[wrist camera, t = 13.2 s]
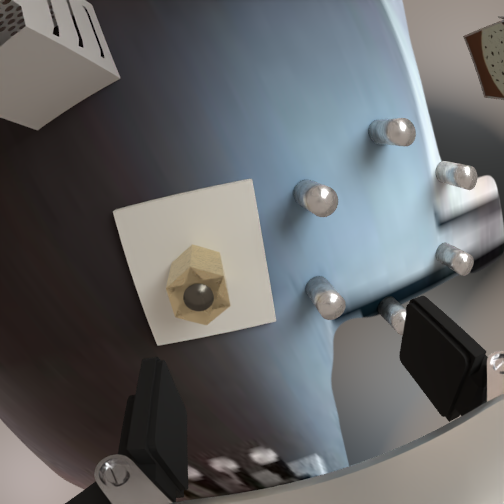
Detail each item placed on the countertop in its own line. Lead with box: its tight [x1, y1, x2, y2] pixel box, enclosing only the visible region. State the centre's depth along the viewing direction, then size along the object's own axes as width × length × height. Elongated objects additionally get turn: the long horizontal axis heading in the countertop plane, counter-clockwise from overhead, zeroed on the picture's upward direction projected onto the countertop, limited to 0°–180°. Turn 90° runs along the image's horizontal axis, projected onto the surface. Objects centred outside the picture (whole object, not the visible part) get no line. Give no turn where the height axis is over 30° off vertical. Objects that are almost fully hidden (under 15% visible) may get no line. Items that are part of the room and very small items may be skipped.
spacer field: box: [294, 118, 477, 335], centre depth 33 cm, size 25×22×5 cm
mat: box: [113, 179, 276, 346], centre depth 33 cm, size 16×14×1 cm
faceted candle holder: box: [166, 244, 231, 325], centre depth 29 cm, size 6×5×6 cm
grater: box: [0, 0, 121, 130], centre depth 14 cm, size 10×10×20 cm
